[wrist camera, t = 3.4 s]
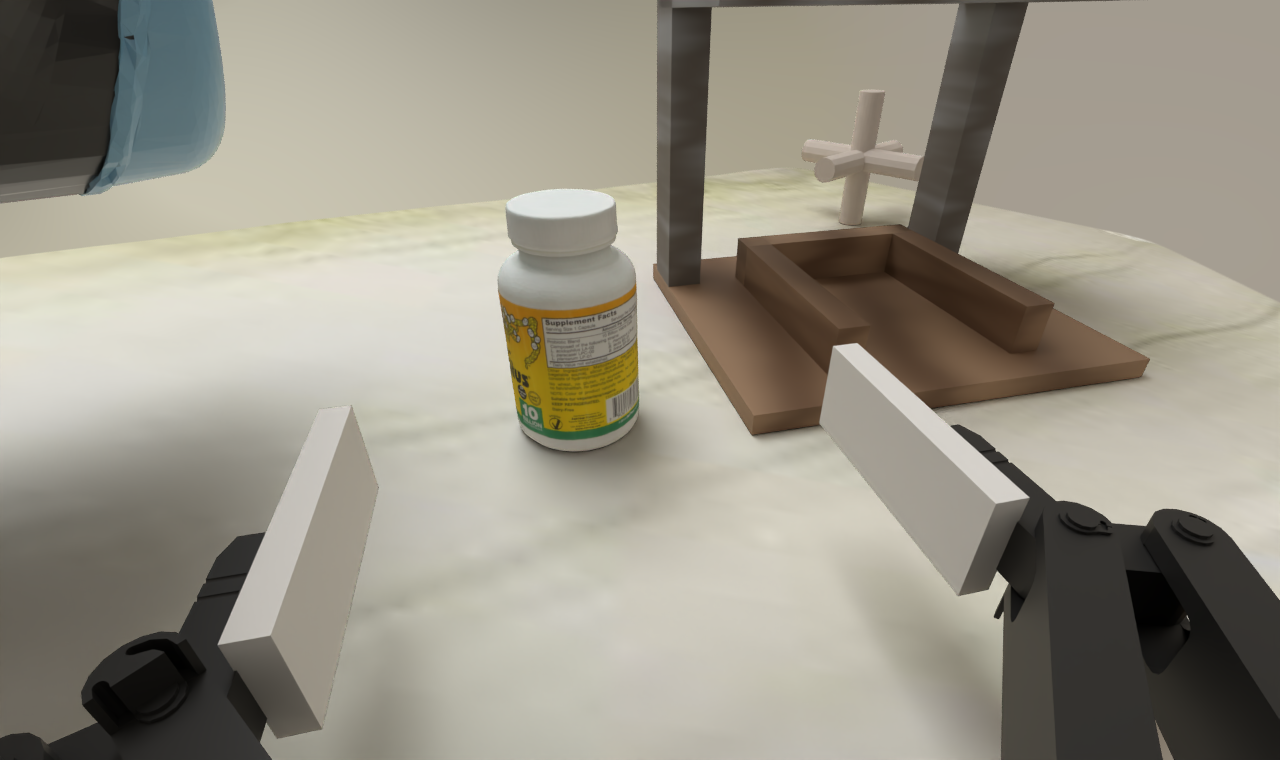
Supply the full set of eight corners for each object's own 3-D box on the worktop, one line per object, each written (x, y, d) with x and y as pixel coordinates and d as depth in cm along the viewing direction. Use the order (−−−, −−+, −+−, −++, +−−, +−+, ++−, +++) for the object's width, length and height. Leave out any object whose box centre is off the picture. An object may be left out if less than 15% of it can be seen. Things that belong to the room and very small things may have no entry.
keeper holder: (751, 434, 25) (804, -61, 16) (653, 277, 40) (652, -26, 31) (1140, 376, 29) (1361, -58, 20) (917, 252, 44) (985, -27, 35)
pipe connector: (871, 250, 44) (901, 103, 39) (765, 221, 51) (778, 91, 45) (935, 222, 50) (969, 90, 44) (832, 199, 56) (850, 81, 51)
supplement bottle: (649, 446, 25) (648, 217, 20) (519, 463, 24) (482, 229, 19) (627, 380, 29) (621, 179, 24) (517, 392, 28) (487, 187, 23)
